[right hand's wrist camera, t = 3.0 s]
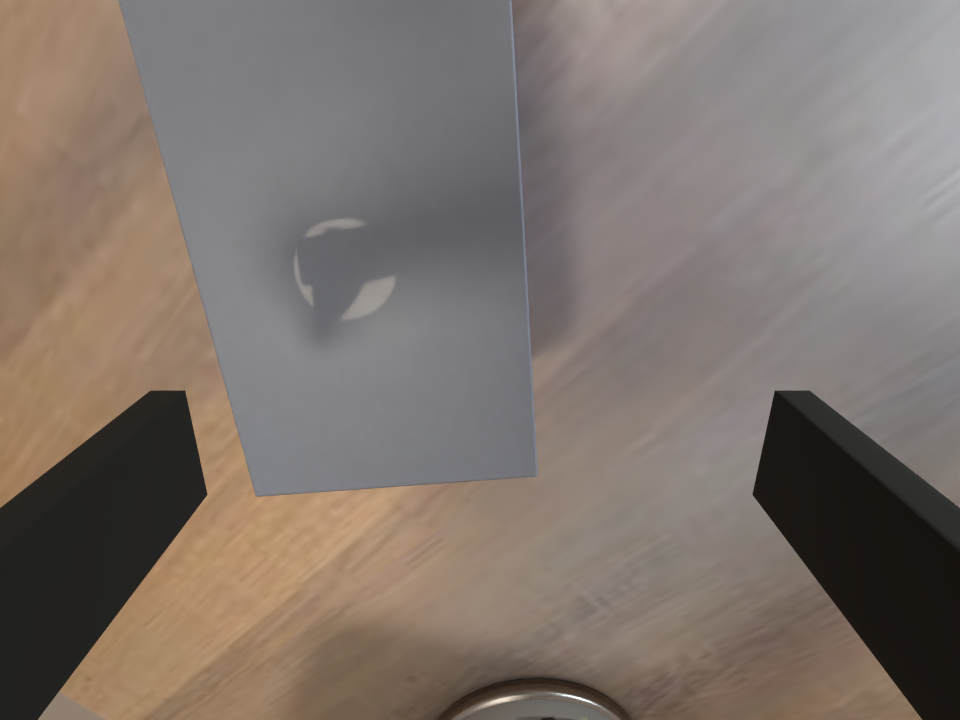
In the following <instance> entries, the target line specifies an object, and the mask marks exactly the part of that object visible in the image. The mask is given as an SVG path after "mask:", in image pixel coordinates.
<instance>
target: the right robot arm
mask: <svg viewBox="0 0 960 720" xmlns="http://www.w3.org/2000/svg"><path fill="white" fill-rule="evenodd" d="M206 496H207V491H206V486H205V481H204V477H203V472H202V467H201V463H200V458H199V453H198V449H197V444H196V439H195V435H194V430H193V425H192V421H191V416H190V412H189V407H188V402H187V398H186V393H185V391H150V392H148V393H147V394H146V395H144V396H143V397H142V398H141V399H139V400H138V401H137V402H135V403H134V404H133V405H132V406H130V407H129V408H128V409H127V410H125V411H124V412H123V413H121V414H120V415H119V416H118V417H116V418H115V419H114V420H112V421H111V422H110V423H109V424H107V425H106V426H105V427H103V428H102V429H101V430H100V431H98V432H97V433H96V434H95V435H93V436H92V437H91V438H89V439H88V440H87V441H86V442H84V443H83V444H82V445H80V446H79V447H78V448H77V449H75V450H74V451H73V452H71V453H70V454H69V455H68V456H66V457H65V458H64V459H62V460H61V461H60V462H59V463H57V464H56V465H55V466H54V467H52V468H51V469H50V470H48V471H47V472H46V473H45V474H43V475H42V476H41V477H39V478H38V479H37V480H36V481H34V482H33V483H32V484H30V485H29V486H28V487H27V488H25V489H24V490H23V491H22V492H20V493H19V494H18V495H16V496H15V497H14V498H13V499H11V500H10V501H9V502H7V503H6V504H5V505H4V506H2V507H1V508H0V720H38V718H39V717H40V716H41V714H42V713H43V712H44V710H45V709H46V708H47V706H48V705H49V704H50V702H51V701H52V700H53V699H54V697H55V696H56V694H57V693H58V692H59V691H60V689H61V688H62V687H63V685H64V684H65V683H66V681H67V680H68V679H69V677H70V676H71V675H72V673H73V672H74V671H75V669H76V668H77V667H78V665H79V664H80V663H81V661H82V660H83V659H84V657H85V656H86V655H87V653H88V652H89V651H90V649H91V648H92V647H93V646H94V644H95V643H96V642H97V640H98V639H99V638H100V636H101V635H102V634H103V632H104V631H105V630H106V628H107V627H108V626H109V624H110V623H111V622H112V620H113V619H114V618H115V616H116V615H117V614H118V612H119V611H120V610H121V608H122V607H123V606H124V604H125V603H126V602H127V600H128V599H129V598H130V596H131V595H132V594H133V593H134V591H135V590H136V589H137V587H138V586H139V585H140V583H141V582H142V581H143V579H144V578H145V577H146V575H147V574H148V573H149V571H150V570H151V569H152V567H153V566H154V565H155V563H156V562H157V561H158V559H159V558H160V557H161V555H162V554H163V553H164V551H165V550H166V549H167V547H168V546H169V545H170V544H171V542H172V541H173V540H174V538H175V537H176V536H177V534H178V533H179V532H180V530H181V529H182V528H183V526H184V525H185V524H186V522H187V521H188V520H189V518H190V517H191V516H192V514H193V513H194V512H195V510H196V509H197V508H198V506H199V505H200V504H201V502H202V501H203V500H204V498H205V497H206ZM753 496H754V497H755V498H756V500H757V501H758V502H759V504H760V505H761V506H762V508H763V509H764V510H765V512H766V513H767V514H768V516H769V517H770V518H771V520H772V521H773V522H774V524H775V525H776V526H777V528H778V529H779V530H780V532H781V533H782V534H783V536H784V537H785V538H786V540H787V541H788V542H789V544H790V545H791V546H792V547H793V549H794V550H795V551H796V553H797V554H798V555H799V557H800V558H801V559H802V561H803V562H804V563H805V565H806V566H807V567H808V569H809V570H810V571H811V573H812V574H813V575H814V577H815V578H816V579H817V581H818V582H819V583H820V585H821V586H822V587H823V589H824V590H825V591H826V593H827V594H828V595H829V596H830V598H831V599H832V600H833V602H834V603H835V604H836V606H837V607H838V608H839V610H840V611H841V612H842V614H843V615H844V616H845V618H846V619H847V620H848V622H849V623H850V624H851V626H852V627H853V628H854V630H855V631H856V632H857V634H858V635H859V636H860V638H861V639H862V640H863V642H864V643H865V644H866V646H867V647H868V648H869V649H870V651H871V652H872V653H873V655H874V656H875V657H876V659H877V660H878V661H879V663H880V664H881V665H882V667H883V668H884V669H885V671H886V672H887V673H888V675H889V676H890V677H891V679H892V680H893V681H894V683H895V684H896V685H897V687H898V688H899V689H900V691H901V692H902V693H903V695H904V696H905V697H906V699H907V700H908V701H909V702H910V704H911V705H912V706H913V708H914V709H915V710H916V712H917V713H918V714H919V716H920V717H921V718H922V720H960V508H959V507H958V506H956V505H955V504H954V503H953V502H951V501H950V500H949V499H947V498H946V497H945V496H944V495H942V494H941V493H940V492H938V491H937V490H936V489H935V488H933V487H932V486H931V485H930V484H928V483H927V482H926V481H924V480H923V479H922V478H921V477H919V476H918V475H917V474H915V473H914V472H913V471H912V470H910V469H909V468H908V467H906V466H905V465H904V464H903V463H901V462H900V461H899V460H897V459H896V458H895V457H894V456H892V455H891V454H890V453H889V452H887V451H886V450H885V449H883V448H882V447H881V446H880V445H878V444H877V443H876V442H874V441H873V440H872V439H871V438H869V437H868V436H867V435H865V434H864V433H863V432H862V431H860V430H859V429H858V428H857V427H855V426H854V425H853V424H851V423H850V422H849V421H848V420H846V419H845V418H844V417H842V416H841V415H840V414H839V413H837V412H836V411H835V410H833V409H832V408H831V407H830V406H828V405H827V404H826V403H825V402H823V401H822V400H821V399H819V398H818V397H817V396H816V395H814V394H813V393H812V392H810V391H775V393H774V398H773V402H772V407H771V412H770V416H769V421H768V425H767V430H766V435H765V439H764V444H763V449H762V453H761V458H760V463H759V467H758V472H757V477H756V481H755V486H754V491H753ZM438 720H630V719H629V718H628V716H627V715H626V714H625V712H624V711H623V710H622V709H621V708H620V707H619V706H618V705H616V704H615V703H614V702H613V701H611V700H610V699H609V698H607V697H606V696H604V695H602V694H600V693H598V692H596V691H594V690H592V689H590V688H587V687H584V686H581V685H578V684H575V683H571V682H566V681H560V680H553V679H520V680H512V681H506V682H501V683H497V684H494V685H490V686H487V687H485V688H482V689H479V690H477V691H475V692H473V693H471V694H469V695H467V696H465V697H463V698H462V699H460V700H459V701H457V702H456V703H455V704H453V705H452V706H451V707H450V708H448V709H447V710H446V711H445V712H444V713H443V714H442V716H441V717H440V718H439V719H438Z"/></svg>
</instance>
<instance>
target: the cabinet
mask: <svg viewBox="0 0 960 720" xmlns="http://www.w3.org/2000/svg"><path fill="white" fill-rule="evenodd" d="M119 4H120V7H121V11H122V14H123V18H124V22H125V25H126V29H127V33H128V36H129V40H130V43H131V47H132V51H133V54H134V58H135V61H136V65H137V69H138V72H139V76H140V79H141V83H142V87H143V90H144V94H145V98H146V101H147V105H148V108H149V112H150V116H151V119H152V123H153V126H154V130H155V134H156V137H157V141H158V144H159V148H160V152H161V155H162V159H163V163H164V166H165V170H166V173H167V177H168V181H169V184H170V188H171V191H172V195H173V199H174V202H175V206H176V209H177V213H178V217H179V220H180V224H181V228H182V231H183V235H184V238H185V242H186V246H187V249H188V253H189V256H190V260H191V264H192V267H193V271H194V275H195V278H196V282H197V285H198V289H199V293H200V296H201V300H202V303H203V307H204V311H205V314H206V318H207V321H208V325H209V329H210V332H211V336H212V340H213V343H214V347H215V350H216V354H217V358H218V361H219V365H220V368H221V372H222V376H223V379H224V383H225V386H226V390H227V394H228V397H229V401H230V405H231V408H232V412H233V415H234V419H235V423H236V426H237V430H238V433H239V437H240V441H241V444H242V448H243V451H244V455H245V459H246V462H247V466H248V470H249V473H250V477H251V480H252V484H253V488H254V491H255V495H256V496H257V497H259V496H273V495H287V494H301V493H315V492H328V491H342V490H356V489H370V488H384V487H397V486H411V485H425V484H439V483H452V482H466V481H480V480H494V479H508V478H521V477H535V476H537V475H538V467H537V449H536V431H535V413H534V395H533V377H532V359H531V341H530V323H529V305H528V287H527V268H526V250H525V232H524V214H523V196H522V178H521V160H520V142H519V124H518V106H517V88H516V70H515V51H514V33H513V15H512V0H119Z"/></svg>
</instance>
